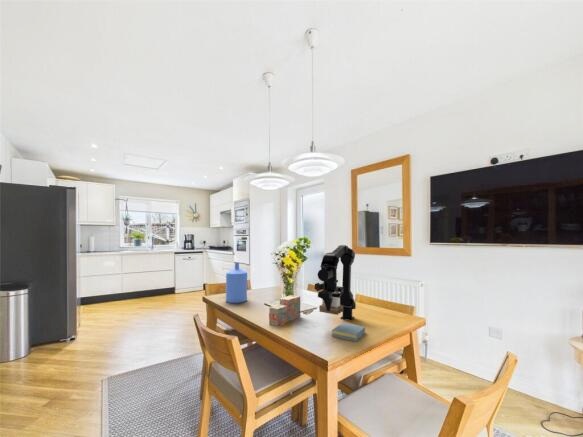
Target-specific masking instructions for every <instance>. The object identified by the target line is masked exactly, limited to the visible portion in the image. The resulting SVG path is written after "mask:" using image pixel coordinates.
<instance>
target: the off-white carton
mask: <svg viewBox="0 0 583 437" xmlns="http://www.w3.org/2000/svg"><path fill="white" fill-rule="evenodd" d="M332 298H333V300H332V303H331V307H336V308H337V307H339V306H340V298H337V297H332Z"/></svg>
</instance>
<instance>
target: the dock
mask: <svg viewBox="0 0 583 437" xmlns="http://www.w3.org/2000/svg"><path fill="white" fill-rule="evenodd" d="M365 334H366V327H365V326H362V325H357V324H352V323H348V322H347V323H346V322H341V323H340V324H338V325H337V326H335V327H334V328H333V329H331V336H332V337H334V338H337V339H338V338H339V339H343V340H347V341H351V342H357V341H359V340H360V339H361V338H362V337H363V336H364V335H365Z"/></svg>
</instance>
